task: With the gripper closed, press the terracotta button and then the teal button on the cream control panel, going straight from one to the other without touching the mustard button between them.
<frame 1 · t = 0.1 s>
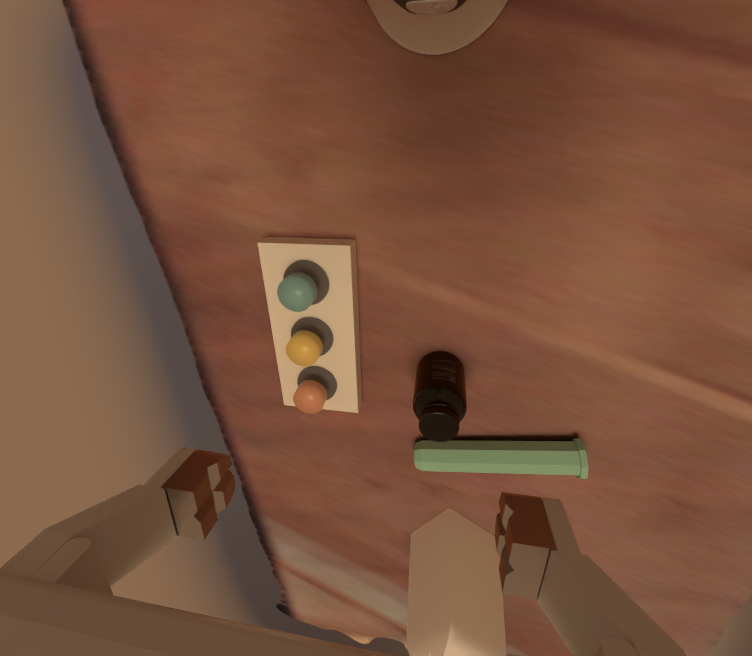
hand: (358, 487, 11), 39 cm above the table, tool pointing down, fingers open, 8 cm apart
mustard button: (304, 348, 49), point 6 cm above the table, slide at 0.0 cm
button panel: (319, 326, 55), on the table
teal button: (297, 292, 45), point 6 cm above the table, slide at 0.0 cm
milk: (453, 535, 72), on the table
supplement bottle: (440, 369, 55), on the table
container: (491, 443, 60), on the table
terracotta button: (310, 396, 53), point 6 cm above the table, slide at 0.0 cm
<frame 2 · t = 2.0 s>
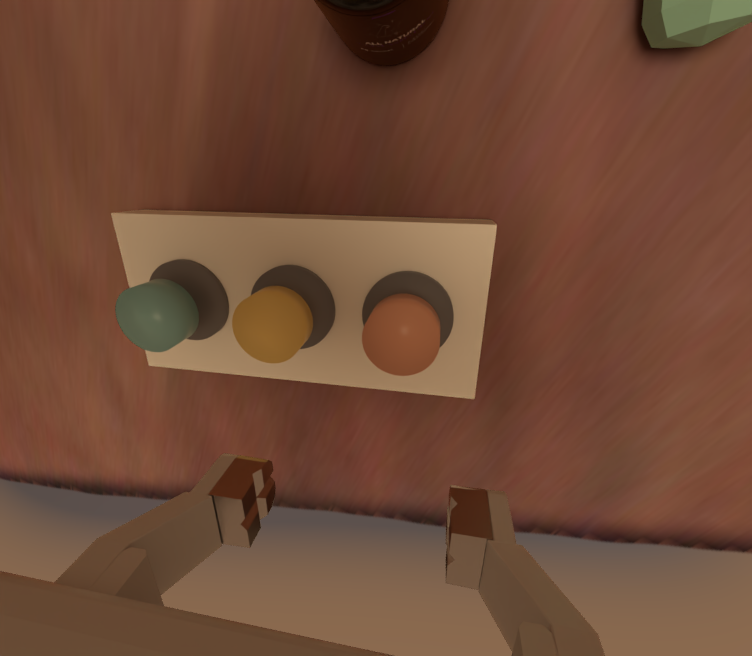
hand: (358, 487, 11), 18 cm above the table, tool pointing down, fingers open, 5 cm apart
mustard button: (273, 324, 23), point 6 cm above the table, slide at 0.0 cm
button panel: (308, 294, 29), on the table
teal button: (158, 315, 24), point 6 cm above the table, slide at 0.0 cm
terracotta button: (402, 334, 22), point 6 cm above the table, slide at 0.0 cm
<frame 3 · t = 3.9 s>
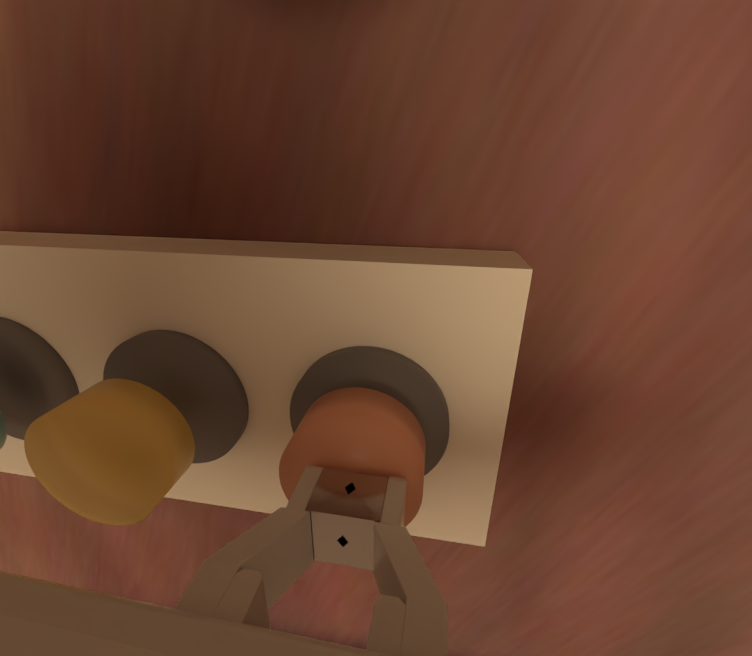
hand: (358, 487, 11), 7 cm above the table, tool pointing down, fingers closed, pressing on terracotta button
mustard button: (115, 451, 12), point 6 cm above the table, slide at 0.0 cm
button panel: (220, 363, 18), on the table
terracotta button: (355, 462, 12), point 5 cm above the table, slide at 0.9 cm, touching gripper
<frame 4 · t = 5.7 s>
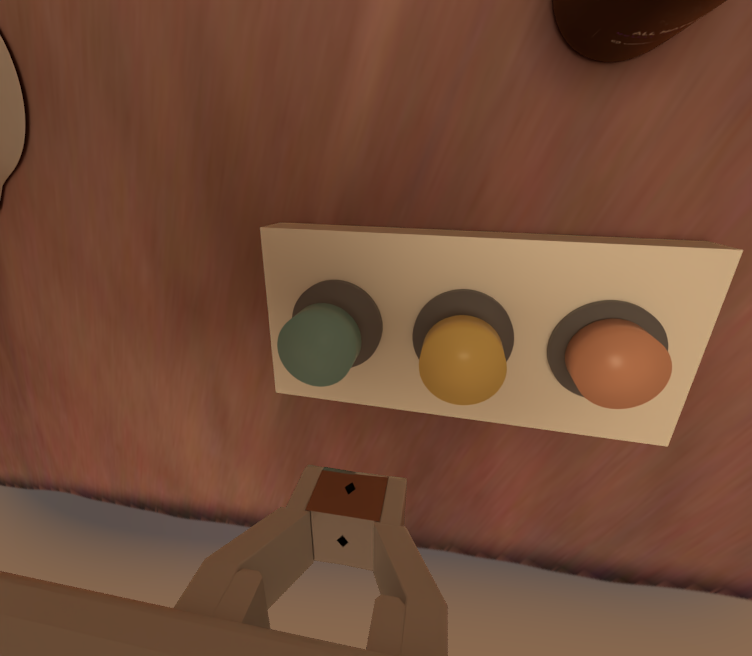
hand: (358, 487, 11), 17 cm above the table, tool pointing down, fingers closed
mustard button: (461, 359, 20), point 6 cm above the table, slide at 0.0 cm
button panel: (461, 319, 26), on the table
teal button: (320, 344, 21), point 6 cm above the table, slide at 0.0 cm
terracotta button: (614, 363, 20), point 5 cm above the table, slide at 1.6 cm
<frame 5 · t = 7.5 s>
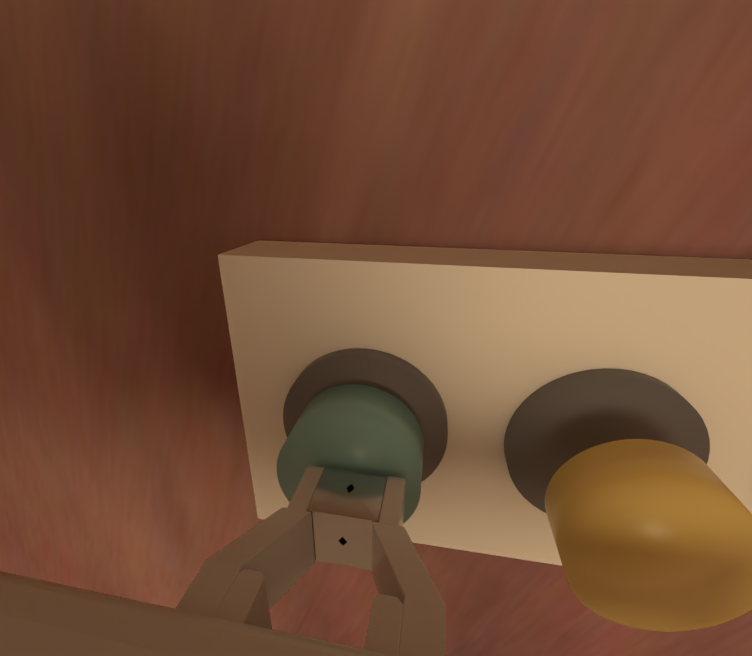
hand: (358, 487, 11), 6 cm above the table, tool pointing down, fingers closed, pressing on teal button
mustard button: (645, 533, 10), point 6 cm above the table, slide at 0.0 cm
button panel: (568, 398, 15), on the table
teal button: (353, 459, 12), point 5 cm above the table, slide at 1.3 cm, touching gripper
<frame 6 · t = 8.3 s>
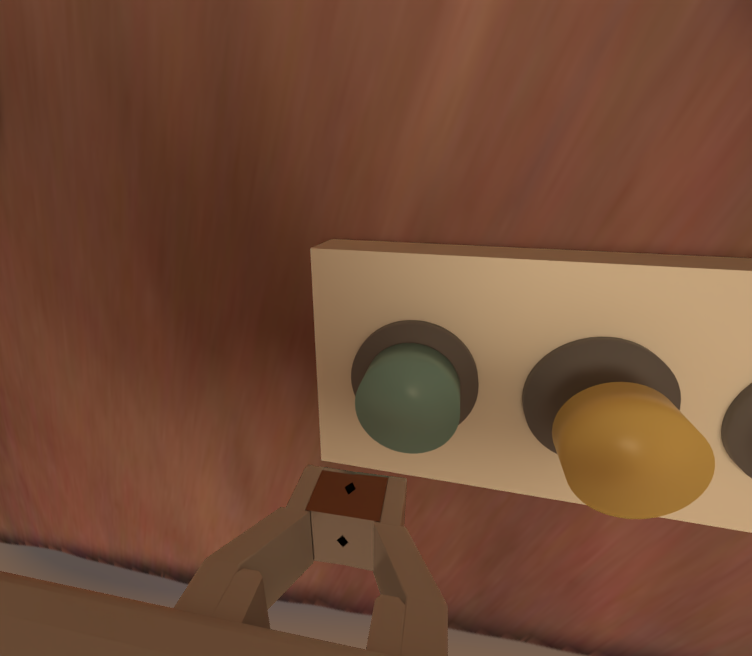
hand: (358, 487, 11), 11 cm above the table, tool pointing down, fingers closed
mustard button: (624, 449, 13), point 6 cm above the table, slide at 0.0 cm
button panel: (575, 368, 19), on the table
teal button: (409, 397, 16), point 5 cm above the table, slide at 1.6 cm
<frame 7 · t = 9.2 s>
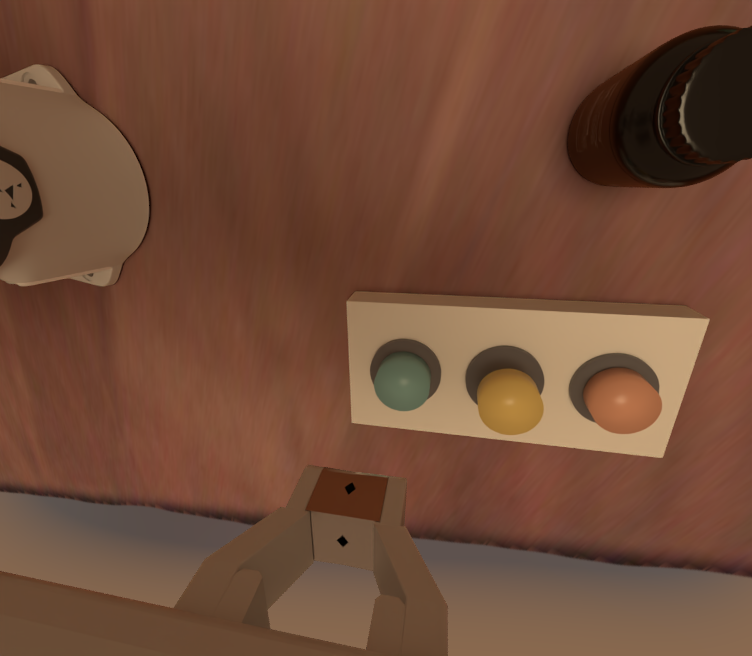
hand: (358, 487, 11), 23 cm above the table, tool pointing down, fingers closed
mustard button: (508, 401, 27), point 6 cm above the table, slide at 0.0 cm
button panel: (499, 362, 33), on the table
teal button: (402, 381, 30), point 5 cm above the table, slide at 1.6 cm
supplement bottle: (619, 132, 25), on the table
terracotta button: (620, 400, 27), point 5 cm above the table, slide at 1.6 cm
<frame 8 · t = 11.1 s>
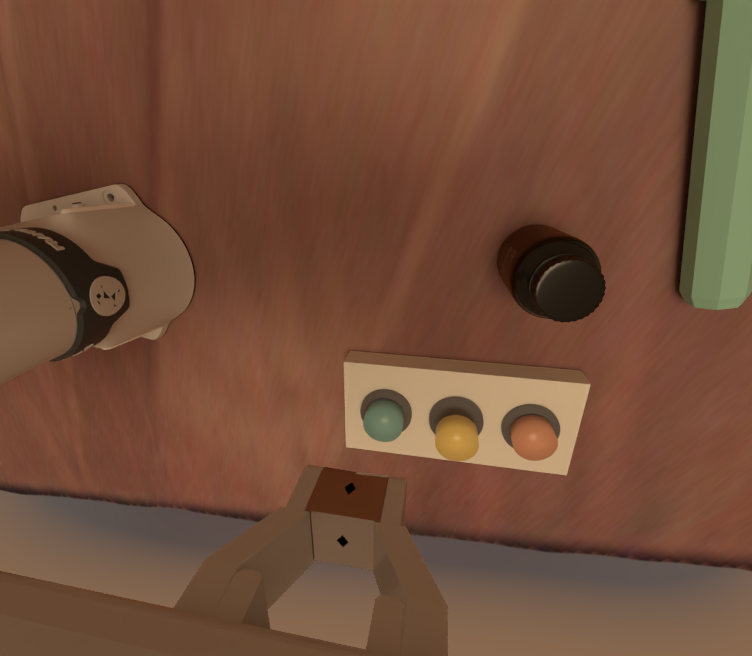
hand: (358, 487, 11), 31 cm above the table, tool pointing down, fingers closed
mustard button: (456, 438, 39), point 6 cm above the table, slide at 0.0 cm
button panel: (455, 404, 45), on the table
teal button: (383, 420, 42), point 5 cm above the table, slide at 1.6 cm
supplement bottle: (531, 258, 37), on the table
container: (708, 162, 32), on the table
terracotta button: (533, 437, 39), point 5 cm above the table, slide at 1.6 cm
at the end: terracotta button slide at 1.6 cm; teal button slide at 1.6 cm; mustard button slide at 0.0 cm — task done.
